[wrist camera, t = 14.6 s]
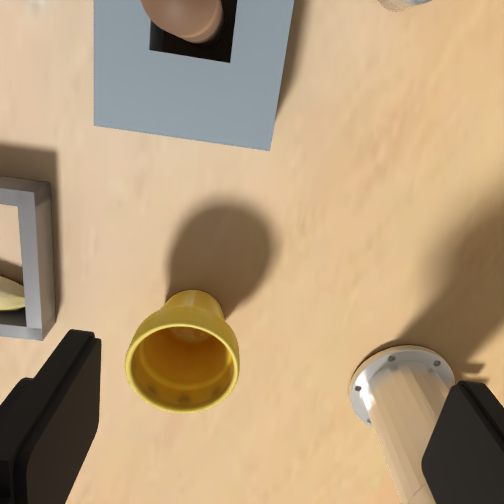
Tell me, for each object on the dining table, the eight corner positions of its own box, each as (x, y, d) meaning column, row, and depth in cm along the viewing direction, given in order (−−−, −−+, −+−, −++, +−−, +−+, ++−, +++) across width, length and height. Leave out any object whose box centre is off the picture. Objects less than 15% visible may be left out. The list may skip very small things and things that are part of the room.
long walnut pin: (227, -4, 35) (220, -48, 22) (222, 49, 37) (211, 39, 23) (179, -13, 35) (140, -62, 21) (175, 41, 37) (137, 27, 23)
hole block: (302, -97, 33) (315, -129, 27) (265, 139, 40) (269, 151, 35) (118, -133, 32) (93, -174, 26) (114, 117, 39) (93, 125, 33)
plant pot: (187, 254, 45) (173, 301, 36) (258, 311, 48) (262, 368, 39) (127, 316, 47) (100, 375, 38) (198, 367, 50) (189, 432, 41)
